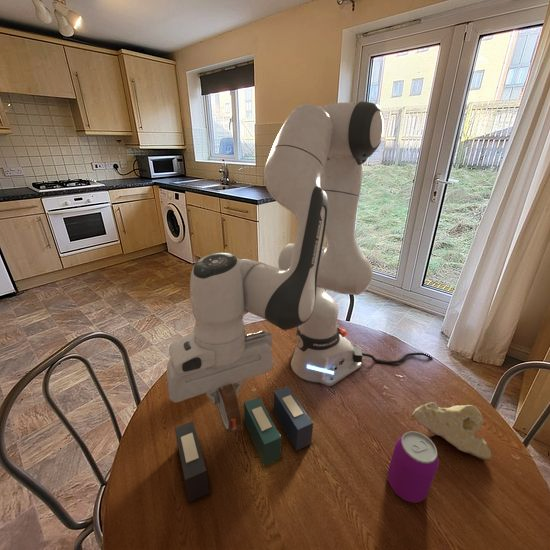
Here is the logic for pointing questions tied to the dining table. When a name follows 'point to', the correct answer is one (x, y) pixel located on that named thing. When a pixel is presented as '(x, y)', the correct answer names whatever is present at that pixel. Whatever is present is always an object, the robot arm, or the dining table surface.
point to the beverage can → (413, 466)
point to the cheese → (454, 426)
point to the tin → (229, 408)
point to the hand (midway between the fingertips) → (224, 398)
